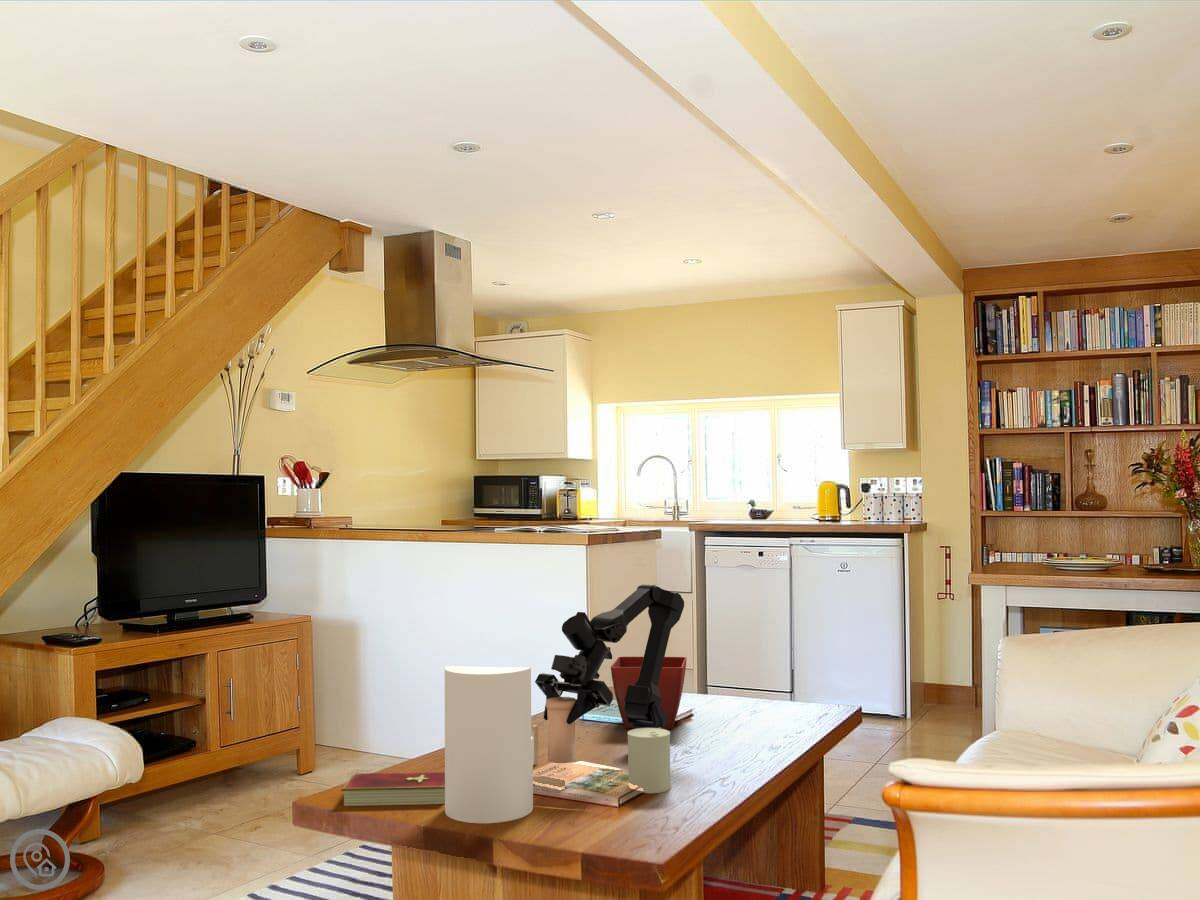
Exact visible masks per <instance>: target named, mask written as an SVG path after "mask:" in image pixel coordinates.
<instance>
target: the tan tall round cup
mask: <svg viewBox="0 0 1200 900" xmlns="http://www.w3.org/2000/svg"><path fill="white" fill-rule="evenodd" d="M576 700H577V698H575V697H572V696H571V697H569V696H560V697H552V698H548V699H546V698H545V705H546V708H547V720H546V721H547V761H548V762H549V763H553V764H568V763H569V764H570V763H572V762H573V763H574V761H576V720H575V721H574V722H573V723H571V724H568V723H567V719H568V716H569V714H570V712H571V710H572V708H573V706H574V704H575V702H576Z"/></svg>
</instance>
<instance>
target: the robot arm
mask: <svg viewBox="0 0 1200 900" xmlns="http://www.w3.org/2000/svg"><path fill="white" fill-rule="evenodd" d="M684 608H685V599H684V598H683V596H682V595H681V594H680V593H679V592H672V591H669V590H666V589H663V588H661V587H659V586H658V585H655V584H641V585H638V586H637V588H636V590H634V592H632V593H631V594H630V595H629V596H628V597H627V598H625V599H624V600H623V601H622V602H621V603H619V604H618V605H617V606H616V607H614V608H613V609H611V610H608V611H605V612H604V611H603V612H601V613H599V614H597V615H595V616H594V617H592V619H591V620H590V619H589V617H588V615H587V614H586V612H583V611H577V612H576V613H575V615H572V616H570V617H569V618H568V619H566V620H565V621H564V622H563V624H561V625H562V626H561V632H562V633H563V635H564V636H565V637H566V639H567V640H568V642H569V643H570V645H571V646H572V648H574V649H575V650H576V651H579V652H578V653H577V654H575V656H574V657H573V656H567V655H561V654H555V655H554V656H553V662H552V665H551V668H550V669H551V670H553V671H556V672H558V673H560V674H559V677H560V678H561V679H563V681H559V679H558V677H556V675H555V674H551V673H544V672H542V673H539V674H538V676H537V677H536V679H535V680H534V683H535V685H536V686H537V687H538V689H540V691H541V692H542V693H543V695H545V700H546V699H548V698H552V697H562V694H563V693H565V692H566V693H571V694H577V695H576V702H575V704H574V706H573V708H572V710H571V712H570V714H569V716H568V719H567V723H568V724H571V723H573V722H574V721H575V722H576V721H577V720H578V719H580V718H581V717H582V716H584V715H586V714H587V713H589V712H590V711H592V710H594V709H596V708H598V709H599V707H600V706H605V707H606V706H607V707H610V706H611V703H612V702H613V699H614V694H613V692H612V691H611V689H610V688H609V686H608V685H607V684H606V682H605V681H604V680H599V678H600V677H601V675H600V674H599V670H600V668H601V666H602V664H603V663H604V660H612V659H613V654H612V651H611V647H609V646H607V645H606V643H612V644H616V643H618V642H620V641H621V639H622V638H623V637H624V636H625V634H626V633H627V631H628V625H629V624H630V623H632V621H634V620H635V619H636V618H637V617H638V616H639V615H640V614H641V613H642V612H644V611H645V610H646V609H648V610H647V614H648V617H649V620H650V624H651V625H650V629H649V632H648V637H647V642H646V646H645V651H644V654H643V656H642V657H643V662H642V666H641V670H640V674H639V678H638V681H637V682H636V683H635V684H634V685H629V686H628V688H627V693H626V697H625V699H624V701H625V703H624V710H625V714H626V718H627V723H628V724H633V728H632V730H633V729H638V728H660V729H661V727H664V725H666V724H667V718H668V716H667V714H666V713H665V711H664V710H663V709H662V707H661V706H660V705H661V695H660V692H659V689H658V682H659V678H660V674H661V669H662V665H663V661H664V657H666V651H667V647H668V644H669V643H668V642H669V638H670V634H671V630H672V629H673V628H674V627H675V625H676V624H677V623H678V622H680V620H681V616H682V613H683V611H684ZM543 719H544V720H545V721H548V720H547V708H546V704H545V705H544V711H543Z"/></svg>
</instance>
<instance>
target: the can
mask: <svg viewBox="0 0 1200 900" xmlns="http://www.w3.org/2000/svg"><path fill="white" fill-rule="evenodd" d="M626 733H627V764H628V765H627V768H628V769H627V773H628V776H627V777H628V778H627V782H629V783H631V784H633V785H637V786H640V787H641V788H643V790H644V792H643V794H660V793H666V792H667V791H669V790H672V783H671V782H672V781H671V731H670V730H669V729H660V728H638V729H633V728H632V729H630V730H628V731H627V732H626Z"/></svg>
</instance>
